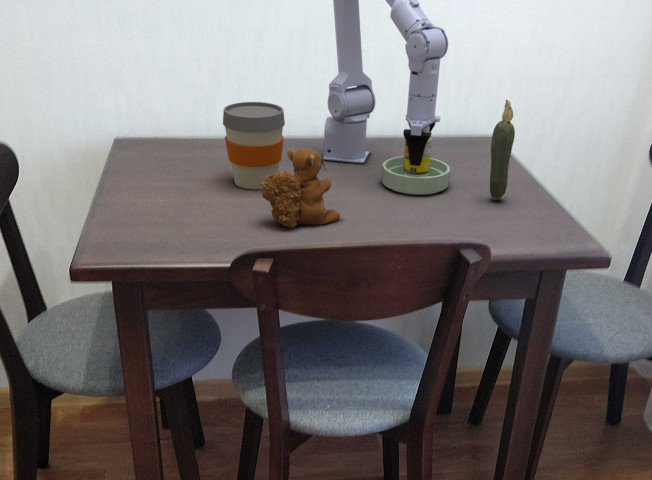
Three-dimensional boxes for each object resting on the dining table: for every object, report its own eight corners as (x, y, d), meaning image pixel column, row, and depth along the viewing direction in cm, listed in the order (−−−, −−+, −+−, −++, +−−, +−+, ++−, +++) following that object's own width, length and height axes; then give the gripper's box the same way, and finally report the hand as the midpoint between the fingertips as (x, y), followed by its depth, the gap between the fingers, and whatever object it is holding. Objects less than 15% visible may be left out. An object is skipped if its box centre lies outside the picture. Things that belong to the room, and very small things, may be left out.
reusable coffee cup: (214, 184, 161) (209, 111, 153) (247, 168, 170) (244, 98, 162) (264, 196, 156) (263, 121, 148) (296, 178, 166) (296, 107, 157)
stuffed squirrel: (343, 219, 148) (346, 151, 140) (287, 238, 139) (286, 166, 132) (309, 204, 153) (309, 138, 146) (253, 221, 145) (251, 152, 138)
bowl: (376, 192, 160) (377, 174, 158) (387, 171, 172) (388, 153, 169) (444, 199, 158) (446, 180, 156) (450, 177, 170) (452, 159, 167)
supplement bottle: (397, 171, 164) (401, 123, 159) (419, 168, 167) (424, 120, 161) (412, 179, 160) (416, 130, 155) (434, 176, 163) (439, 127, 157)
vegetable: (504, 206, 156) (519, 104, 145) (482, 203, 157) (496, 103, 146) (504, 198, 160) (520, 99, 149) (483, 196, 160) (497, 97, 149)
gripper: (439, 104, 148) (432, 173, 155) (445, 87, 160) (439, 151, 167) (402, 101, 149) (397, 170, 156) (412, 84, 161) (406, 149, 168)
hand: (416, 160), depth 162 cm, fingers closed on supplement bottle, 5 cm apart
